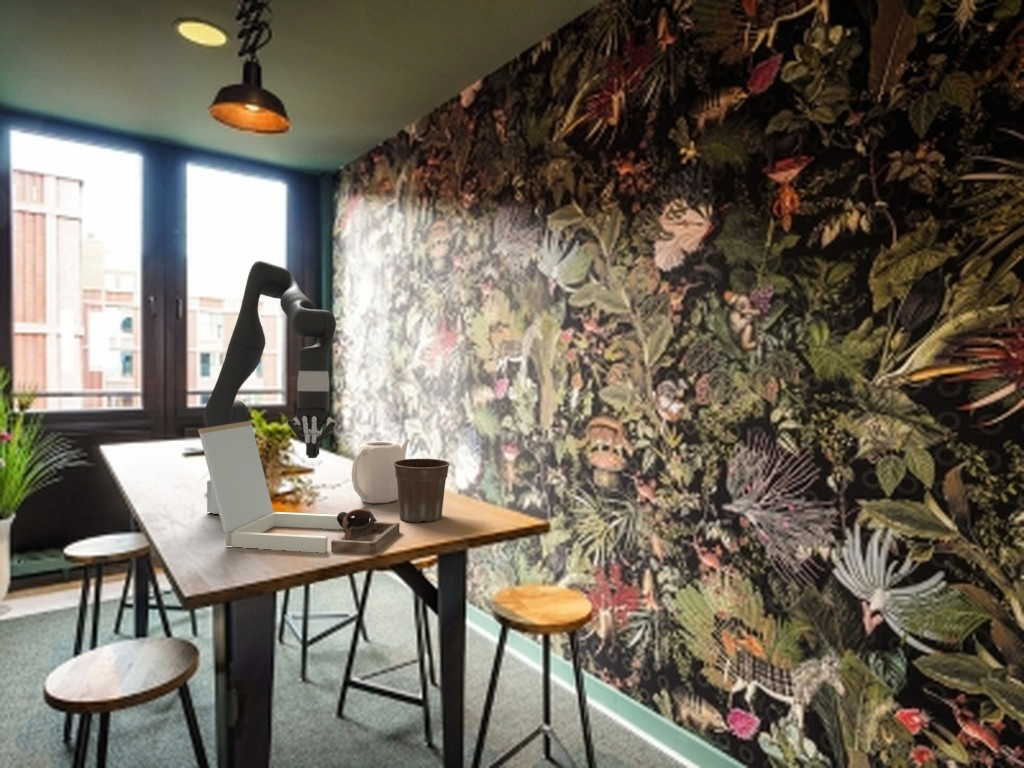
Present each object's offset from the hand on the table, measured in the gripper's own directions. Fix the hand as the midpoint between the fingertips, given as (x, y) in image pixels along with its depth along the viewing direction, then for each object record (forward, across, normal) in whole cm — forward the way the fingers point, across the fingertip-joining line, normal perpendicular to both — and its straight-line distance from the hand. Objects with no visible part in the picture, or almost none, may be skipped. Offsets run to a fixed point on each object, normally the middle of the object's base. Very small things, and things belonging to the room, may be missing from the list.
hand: (312, 457), depth 151 cm
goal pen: (+20, +14, 0) cm, 25 cm away
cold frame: (+21, -8, 0) cm, 22 cm away
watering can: (+21, +2, +45) cm, 50 cm away
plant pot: (+21, +21, +25) cm, 39 cm away
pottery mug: (+21, +10, +3) cm, 24 cm away
